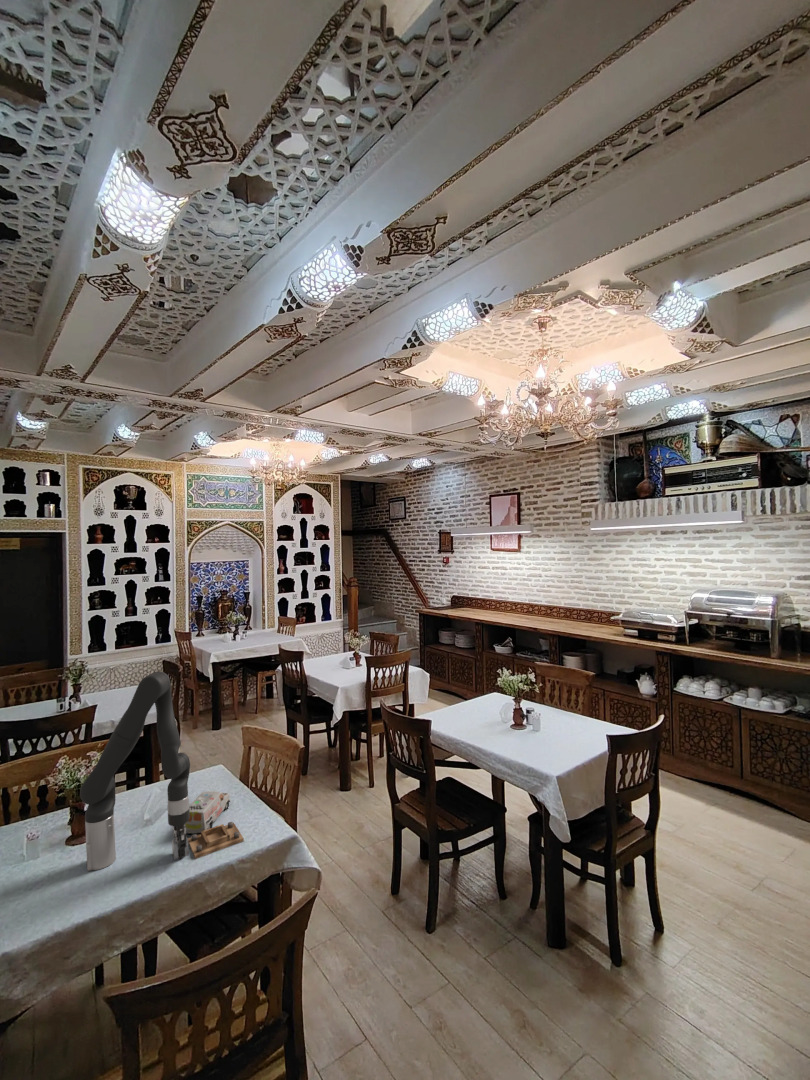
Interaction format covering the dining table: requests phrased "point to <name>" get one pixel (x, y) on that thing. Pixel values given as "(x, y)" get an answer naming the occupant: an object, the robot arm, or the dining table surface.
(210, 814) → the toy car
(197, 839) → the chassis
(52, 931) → the dining table surface
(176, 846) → the block
